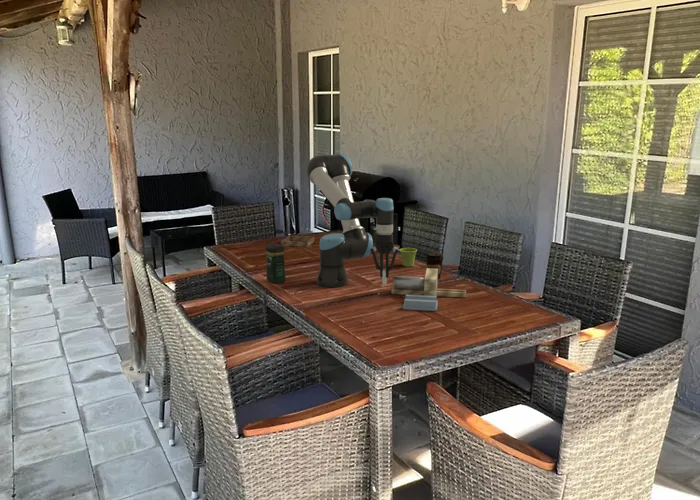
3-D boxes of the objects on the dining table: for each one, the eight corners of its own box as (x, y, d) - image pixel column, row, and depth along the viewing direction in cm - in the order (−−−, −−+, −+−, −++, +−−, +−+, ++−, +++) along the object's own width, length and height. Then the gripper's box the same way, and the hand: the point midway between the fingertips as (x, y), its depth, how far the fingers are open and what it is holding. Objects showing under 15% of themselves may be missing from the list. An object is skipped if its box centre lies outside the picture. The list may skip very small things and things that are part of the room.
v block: (402, 309, 232) (402, 301, 232) (404, 301, 242) (405, 293, 241) (436, 310, 230) (437, 302, 229) (437, 303, 239) (437, 295, 239)
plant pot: (396, 266, 297) (397, 251, 295) (402, 262, 306) (402, 247, 304) (414, 268, 294) (414, 252, 292) (418, 264, 303) (419, 248, 300)
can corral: (281, 246, 347) (280, 241, 346) (289, 240, 363) (288, 235, 362) (307, 247, 344) (307, 242, 343) (314, 241, 360) (314, 236, 359)
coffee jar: (288, 281, 272) (286, 244, 268) (273, 284, 268) (271, 246, 264) (278, 277, 280) (277, 240, 276) (264, 279, 276) (262, 243, 271)
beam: (389, 298, 246) (389, 277, 244) (394, 286, 263) (394, 266, 261) (466, 302, 240) (467, 281, 238) (465, 289, 257) (466, 269, 255)
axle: (393, 290, 251) (393, 277, 250) (395, 286, 257) (395, 274, 256) (436, 292, 248) (436, 279, 246) (436, 288, 253) (437, 276, 252)
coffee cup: (442, 282, 268) (443, 256, 265) (424, 281, 270) (425, 255, 267) (443, 277, 277) (444, 252, 274) (426, 276, 278) (426, 251, 275)
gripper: (368, 234, 247) (369, 285, 252) (398, 235, 244) (397, 287, 249) (371, 231, 254) (371, 281, 259) (400, 232, 251) (399, 282, 257)
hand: (384, 284), depth 254 cm, fingers closed
